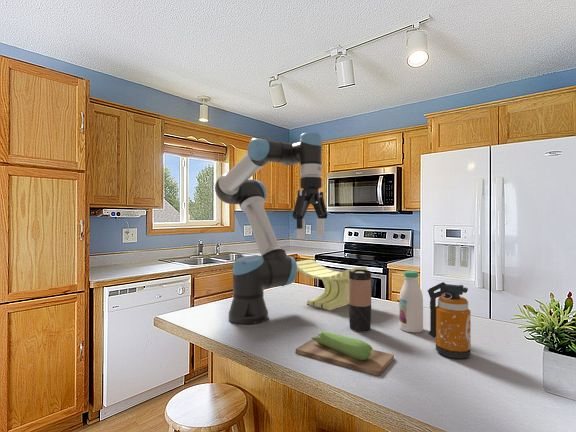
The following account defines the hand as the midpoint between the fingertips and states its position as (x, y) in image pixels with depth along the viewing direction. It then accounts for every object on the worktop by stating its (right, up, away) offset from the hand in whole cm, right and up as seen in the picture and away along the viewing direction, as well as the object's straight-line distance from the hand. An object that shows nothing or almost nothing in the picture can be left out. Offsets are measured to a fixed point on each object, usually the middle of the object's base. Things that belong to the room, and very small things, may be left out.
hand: (311, 237), depth 119 cm
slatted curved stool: (+10, -32, +31) cm, 45 cm away
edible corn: (+7, -31, -24) cm, 40 cm away
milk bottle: (+34, -32, -3) cm, 47 cm away
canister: (+38, -32, -22) cm, 54 cm away
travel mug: (+17, -32, -2) cm, 36 cm away
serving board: (+7, -32, -24) cm, 41 cm away
